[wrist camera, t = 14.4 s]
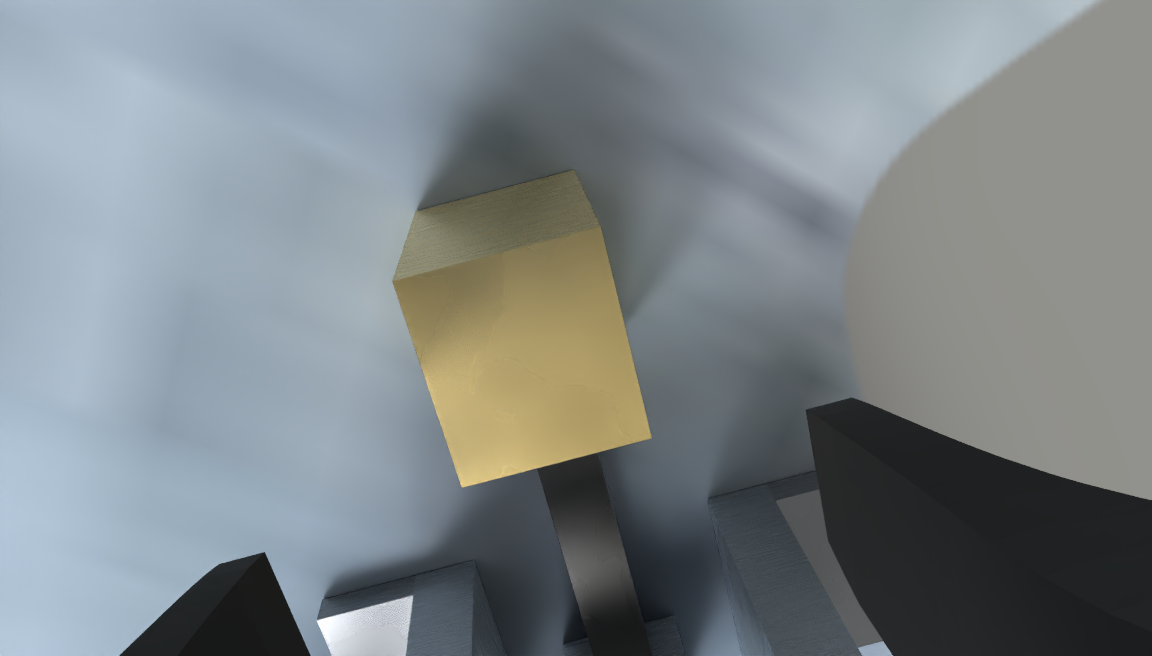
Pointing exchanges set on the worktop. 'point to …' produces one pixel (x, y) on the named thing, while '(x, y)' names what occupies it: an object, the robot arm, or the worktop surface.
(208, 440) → the worktop surface
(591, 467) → the plug
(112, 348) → the worktop surface
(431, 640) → the housing
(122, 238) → the worktop surface
